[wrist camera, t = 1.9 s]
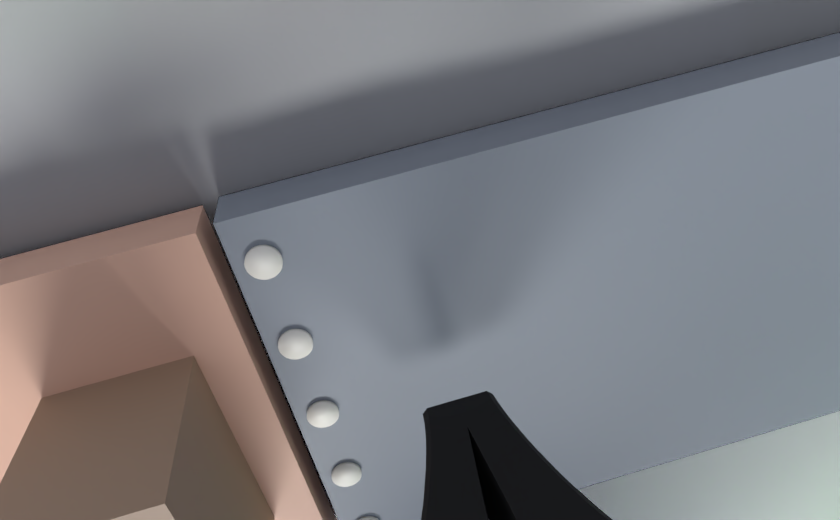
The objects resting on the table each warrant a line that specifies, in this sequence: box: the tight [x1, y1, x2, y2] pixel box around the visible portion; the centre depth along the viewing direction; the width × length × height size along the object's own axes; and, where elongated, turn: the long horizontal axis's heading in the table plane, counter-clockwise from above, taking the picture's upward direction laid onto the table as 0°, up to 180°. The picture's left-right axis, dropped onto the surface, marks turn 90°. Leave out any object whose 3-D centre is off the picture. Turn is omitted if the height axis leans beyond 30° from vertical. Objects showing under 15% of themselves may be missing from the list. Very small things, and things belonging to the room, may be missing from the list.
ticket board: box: [213, 32, 840, 520], centre depth 15 cm, size 10×14×1 cm
